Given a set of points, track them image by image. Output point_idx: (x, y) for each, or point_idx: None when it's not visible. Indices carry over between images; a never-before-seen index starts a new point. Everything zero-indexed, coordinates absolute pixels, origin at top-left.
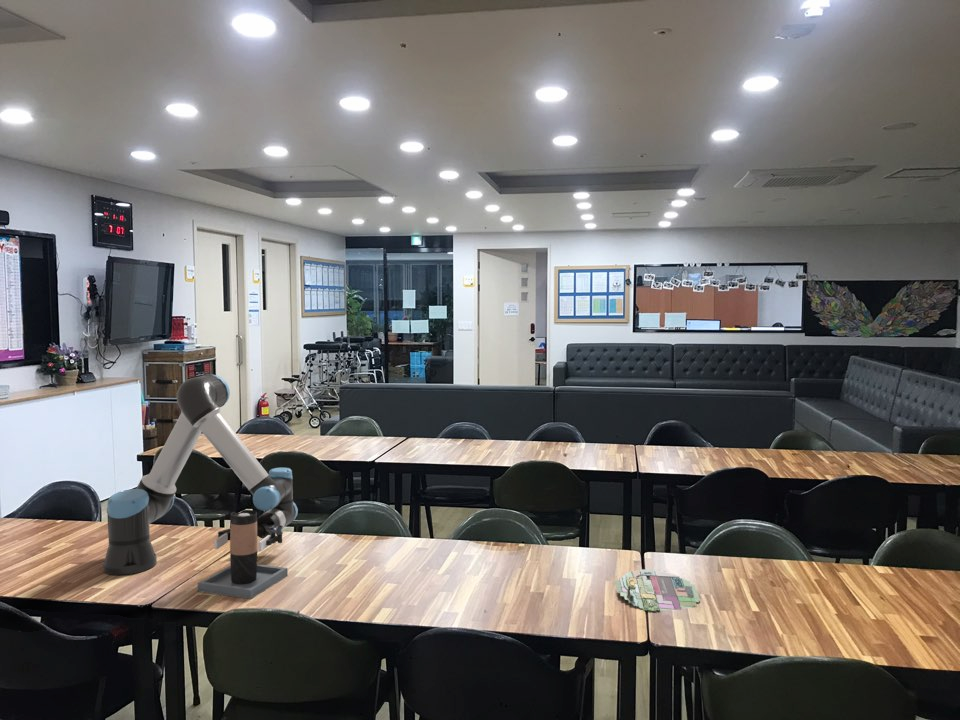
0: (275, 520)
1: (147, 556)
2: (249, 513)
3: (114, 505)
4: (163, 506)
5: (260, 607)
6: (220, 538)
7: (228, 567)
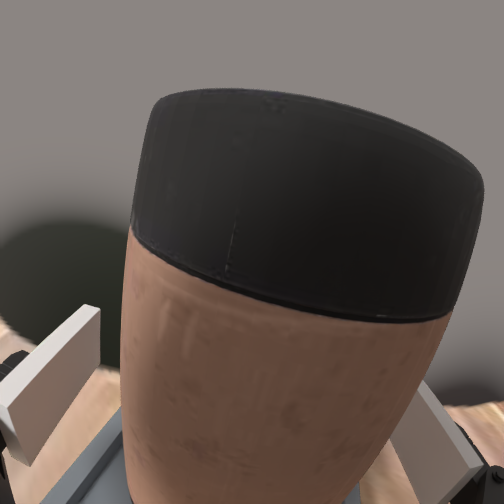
0: None
1: None
2: (340, 183)
3: None
4: None
5: (95, 370)
6: (417, 396)
7: None
